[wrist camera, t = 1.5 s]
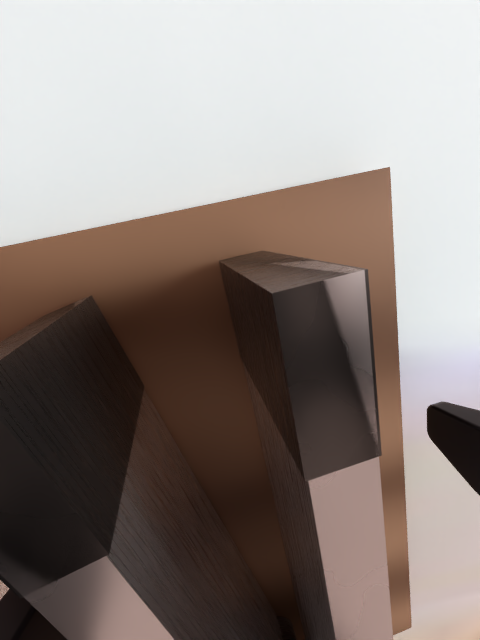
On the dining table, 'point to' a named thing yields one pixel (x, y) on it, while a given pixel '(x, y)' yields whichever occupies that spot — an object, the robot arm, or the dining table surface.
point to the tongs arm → (109, 499)
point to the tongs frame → (317, 432)
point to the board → (227, 340)
